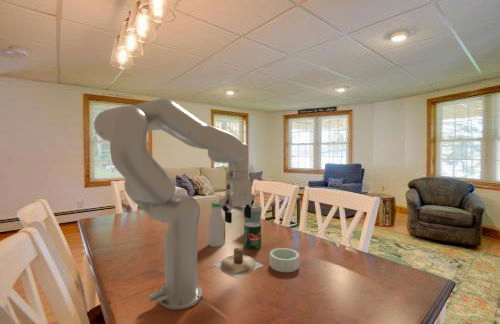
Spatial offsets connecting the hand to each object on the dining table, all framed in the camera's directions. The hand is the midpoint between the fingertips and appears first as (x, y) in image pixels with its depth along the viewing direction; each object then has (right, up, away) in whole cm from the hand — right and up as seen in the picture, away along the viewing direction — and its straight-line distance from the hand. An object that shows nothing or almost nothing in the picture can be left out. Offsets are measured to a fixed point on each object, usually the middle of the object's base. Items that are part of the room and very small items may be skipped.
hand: (238, 219), depth 97 cm
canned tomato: (+6, -17, +20) cm, 27 cm away
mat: (0, -18, +1) cm, 18 cm away
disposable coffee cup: (+6, -16, +40) cm, 44 cm away
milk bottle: (-11, -17, +23) cm, 31 cm away
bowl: (+18, -18, +1) cm, 25 cm away
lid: (0, -18, +1) cm, 18 cm away
